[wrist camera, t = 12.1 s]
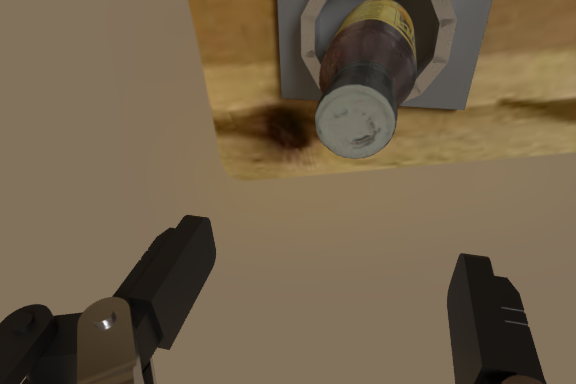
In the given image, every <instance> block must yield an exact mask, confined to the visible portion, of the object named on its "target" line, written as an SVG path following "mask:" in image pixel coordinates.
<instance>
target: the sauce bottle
mask: <svg viewBox="0 0 576 384" xmlns="http://www.w3.org/2000/svg"><path fill="white" fill-rule="evenodd" d="M416 75H417V63H416V49H415V39H414V28H413V23H412V20H411V18H410V16H409V14H408V13H407V11H406V10H405V9H404V8H403V7H402V6H401V5H399V4H398V3H396V2H394V1H392V0H366V1H364V2H362V3H361V4H359V5H358V6H356V7H355V8H354V9H353V10H352V11H351V12H350V13H349V15H348V16H347V17H346V19H345V21H344V22H343V24H342V25H341V27H340V28H339V30H338V32H337V33H336V35H335V36H334V38H333V40H332V41H331V43H330V45H329V46H328V49H327V51H326V54H325V56H324V58H323V61H322V64H321V67H320V72H319V86H320V90H321V92H322V96H321V98H320V100H319V103H318V106H317V109H316V112H315V128H316V133H317V135H318V138H319V139H320V141H321V142H322V143H323V145H324V146H326V147H327V148H328V149H329V150H330V151H332V152H333V153H335V154H336V155H339V156H342V157H345V158H352V159H358V158H366V157H369V156H372V155H374V154H375V153H377V152H378V151H380V150H381V149H382V148H384V147H385V146H386V145H387V144H388V142H389V141H390V140H391V138H392V136H393V134H394V131H395V128H396V121H397V107H398V106H399V105H400V104H402V103H403V102H404V101H405V100H406V99H407V97H408V96H409V95H410V93H411V91H412V89H413V87H414V84H415V81H416Z"/></svg>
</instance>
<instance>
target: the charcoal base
mask: <svg viewBox="0 0 576 384" xmlns="http://www.w3.org/2000/svg"><path fill="white" fill-rule="evenodd" d="M364 1H366V0H328V1H327V3H326V5H325V6H324V8H323V10H322V12H321V31H320V44H321V46H322V48H323V50H324V52H325V54H326V51H327V49H328V46H329V45H330V43H331V41H332V40H333V38H334V36H335V35H336V33H337V32H338V30H339V28H340V27H341V25H342V24H343V22H344V21H345V19H346V17H347V16H348V15H349V13H350V12H351V11H352V10H353V9H354V8H355V7H356V6H358V5H359V4H361V3H362V2H364ZM392 1H394V2H396V3H398V4H399V5H401V6H402V7H403V8H404V9H405V10H406V11H407V13H408V14H409V16H410V18H411V20H412V23H413V28H414V39H415V49H416V63H417V65H418V64H419V63H420V62H421V60H422V59H423V58H424V57H425V55H426V54H427V53H428V51H429V50H430V49H431V48H432V42H433V37H434V31H435V26H436V20H437V15H436V12H435V9H434V7H433V4H432V1H431V0H392ZM450 1H451V4H452V7H453V10H454V13H455V15H456V18H457V23H456V27H455V32H454V37H453V41H452V46H451V51H450V56H449V60H448V63H447V64H446V66H445V67H444V68H443V69H442V70H441V72H440V73H439V74H438V75H437V76H436V78H435V79H434V80H433V81H432V82H431V84H430V85H429V86H428V87H427V88H426V89H425V91H424V92H423V93H422V95H419V96H417V97H415V98H412V99H410V100H408V101H405V102H403V103H402V104H400V105H399V106H410V107H426V108H441V109H456V110H465V106H466V102H467V98H468V94H469V90H470V86H471V82H472V78H473V74H474V70H475V66H476V63H477V59H478V55H479V51H480V47H481V43H482V39H483V35H484V31H485V27H486V23H487V19H488V15H489V11H490V7H491V4H492V0H450ZM308 2H309V0H277V3H278V26H279V48H280V71H281V93H282V98H286V99H302V100H317V101H319V100H320V98H321V96H322V92H321V90H320V89H319V88H318V86H317V84H316V82H315V80H314V79H313V77H312V75H311V73H310V71H309V70H308V68H307V66H306V64H305V62H304V61H303V59H302V57H301V15H302V13H303V12H304V10H305V8H306V6H307V4H308Z"/></svg>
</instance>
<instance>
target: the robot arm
mask: <svg viewBox="0 0 576 384" xmlns="http://www.w3.org/2000/svg"><path fill="white" fill-rule="evenodd" d="M215 259H216V248H215V242H214V237H213V232H212V228H211V222H210V220H209V218H207V217H200V216H192V215H186V216H184V217H183V219H182V220H181V222H180V223H179V224H178V226H177V227H176V228H169V229H167V230H166V231H165V232H163V233H162V234H161V235H159V236H157V237H156V239H155V240H154V241H153V243H152V244H151V246H150V247H149V248H148V251H146V252H145V253H144V255H143V256H142V258H141V260H139V262H138V263H137V264H136V266H135V267H134V268H133V270H132V271H131V272H130V274H129V275H128V276H127V278H126V279H125V280H124V282H123V283H122V284H121V286H120V287H119V289H118V290H117V291H116V292H115V294H114V295H113V296H112V297H108V298H104V299H101V300H99V301H97V302H95V303H93V304H92V305H90V306H89V307H88V308H87V309H86V310H85V311H84V312H82V313H75V314H66V315H57V316H53V315H52V313H51V311H50V310H49V308H47V307H46V306H44V305H40V304H34V305H29V306H25V307H23V308H20V309H18V310H16V311H14V312H13V313H11V314H10V315H9V316H7V317H6V318H5V319H4V320H3V321H2V322H1V323H0V384H20V383H21V382H22V380H23V379H24V378H25V376H26V379H25V380H24V381H23V383H22V384H156V378H155V372H154V366H153V360H152V355H153V354H154V352H155V350H156V348H157V347H158V348H163V349H167V350H170V348H171V346H172V344H173V342H174V340H175V338H176V337H177V335H178V333H179V331H180V329H181V327H182V325H183V323H184V321H185V319H186V318H187V315H188V314H189V312H190V310H191V308H192V306H193V304H194V302H195V300H196V299H197V297H198V295H199V293H200V291H201V289H202V287H203V285H204V283H205V281H206V280H207V278H208V276H209V274H210V272H211V270H212V268H213V266H214V262H215ZM447 309H448V318H449V328H450V337H451V347H452V356H453V366H454V374H455V384H546V381H545V379H544V376H543V373H542V369H541V365H540V362H539V359H538V355H537V352H536V348H535V345H534V342H533V338H532V335H531V332H530V328H529V327H528V321H527V318H526V314H525V313H524V308H523V304H522V301H521V298H520V294H519V292H518V291H517V290H516V289H515V287H514V286H513V285H512V283H511V282H510V281H509V280H508V279H507V278H504V277H498V276H494V274H493V269H492V265H491V261H490V259H489V258H488V257H485V256H478V255H471V254H462V253H461V254H460V255H459V258H458V260H457V263H456V267H455V270H454V273H453V276H452V279H451V282H450V285H449V289H448V296H447Z"/></svg>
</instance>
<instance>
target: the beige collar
mask: <svg viewBox="0 0 576 384" xmlns="http://www.w3.org/2000/svg"><path fill="white" fill-rule="evenodd" d="M327 1H328V0H309V2H308V4H307V6H306V8H305V10H304V12H303V13H302V15H301V57H302V59H303V61H304V62H305V64H306V66H307V68H308V70H309V71H310V73H311V75H312V77H313V79H314V80H315V82H316V84H317V86H318V88H319V89H320V86H319V72H320V67H321V64H322V61H323V58H324V56H325V52H324V50H323V48H322V46H321V44H320V31H321V12H322V10H323V8H324V6H325V5H326V3H327ZM431 1H432V4H433V7H434V9H435V12H436V15H437V20H436V26H435V31H434V37H433V42H432V48H431V49H430V50H429V51H428V53H427V54H426V55H425V57H424V58H423V59H422V60H421V62H420V63H419V64H418V65H417V75H416V81H415V84H414V87H413V89H412V91H411V93H410V95H409V96H408V97H407V99H406V100H405V101H408V100H410V99H412V98H415V97H417V96H419V95H422V93H423V92H424V91H425V89H426V88H427V87H428V86H429V85H430V84H431V82H432V81H433V80H434V79H435V78H436V76H437V75H438V74H439V73H440V72H441V70H442V69H443V68H444V67H445V66H446V64H447V63H448V60H449V56H450V51H451V46H452V41H453V37H454V32H455V27H456V23H457V18H456V15H455V13H454V10H453V7H452V4H451V1H450V0H431ZM405 101H404V102H405Z"/></svg>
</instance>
